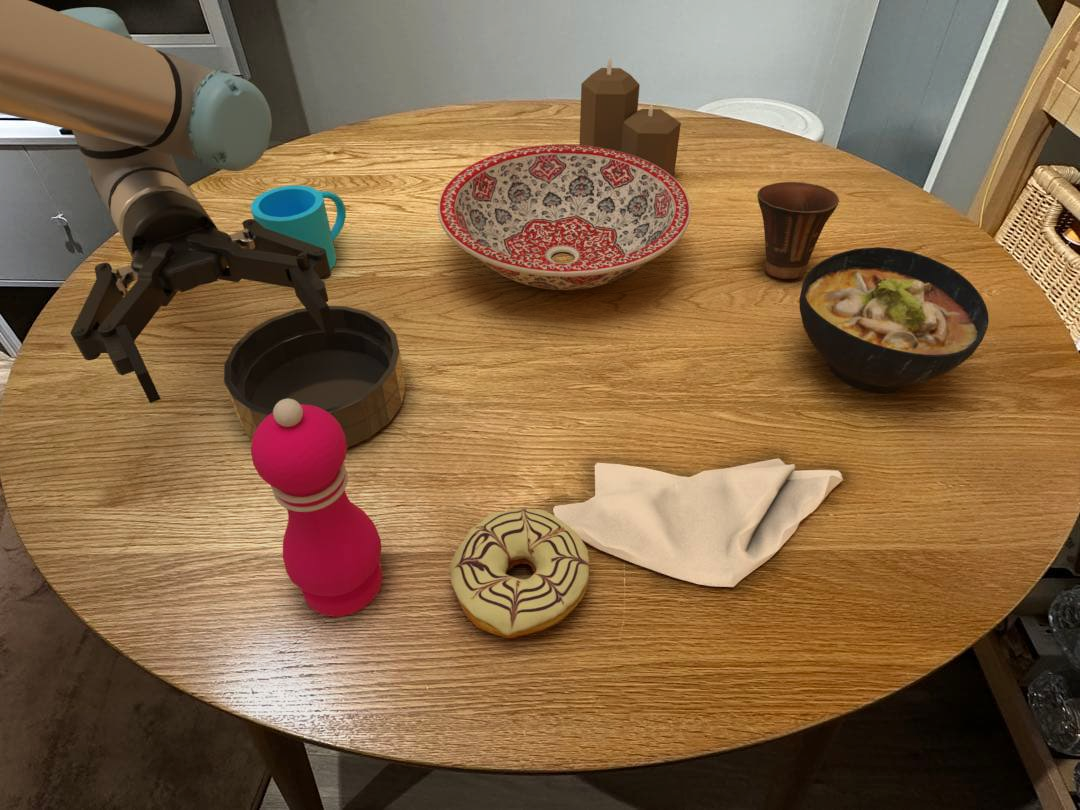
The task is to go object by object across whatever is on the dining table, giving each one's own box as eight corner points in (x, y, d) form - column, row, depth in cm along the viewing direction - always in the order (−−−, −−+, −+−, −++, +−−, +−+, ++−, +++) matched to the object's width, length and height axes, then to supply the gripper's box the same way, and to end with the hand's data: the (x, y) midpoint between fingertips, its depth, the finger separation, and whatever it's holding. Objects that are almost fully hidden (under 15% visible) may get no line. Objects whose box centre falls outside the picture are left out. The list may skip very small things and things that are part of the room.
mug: (300, 289, 90) (283, 228, 85) (254, 267, 94) (235, 207, 88) (372, 244, 97) (361, 185, 92) (327, 224, 101) (314, 166, 95)
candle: (551, 163, 113) (552, 57, 102) (630, 143, 117) (639, 40, 107) (598, 205, 104) (604, 94, 94) (682, 182, 108) (696, 74, 98)
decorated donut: (426, 582, 62) (421, 554, 59) (526, 509, 67) (525, 481, 64) (513, 672, 56) (511, 645, 53) (614, 585, 61) (617, 557, 59)
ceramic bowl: (608, 182, 109) (612, 127, 103) (730, 292, 90) (743, 232, 84) (411, 230, 100) (403, 172, 94) (501, 363, 81) (497, 301, 75)
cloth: (555, 591, 61) (555, 575, 59) (551, 461, 71) (551, 444, 69) (883, 587, 61) (892, 571, 59) (834, 458, 71) (840, 441, 69)
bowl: (756, 376, 79) (776, 297, 72) (822, 296, 89) (845, 220, 82) (924, 450, 72) (965, 369, 65) (976, 354, 81) (1016, 275, 74)
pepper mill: (344, 531, 65) (289, 350, 51) (407, 573, 62) (368, 392, 48) (277, 592, 61) (199, 412, 47) (342, 640, 58) (279, 463, 44)
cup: (782, 239, 98) (800, 165, 91) (834, 274, 92) (857, 198, 85) (727, 258, 95) (742, 184, 88) (778, 296, 89) (798, 219, 82)
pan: (273, 485, 69) (257, 443, 65) (218, 384, 79) (201, 342, 75) (434, 414, 75) (428, 372, 71) (364, 328, 85) (356, 287, 81)
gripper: (305, 223, 78) (399, 332, 65) (37, 308, 68) (86, 456, 55) (287, 153, 73) (386, 257, 60) (-6, 234, 63) (38, 379, 50)
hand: (242, 353), depth 58 cm, fingers open, 13 cm apart
